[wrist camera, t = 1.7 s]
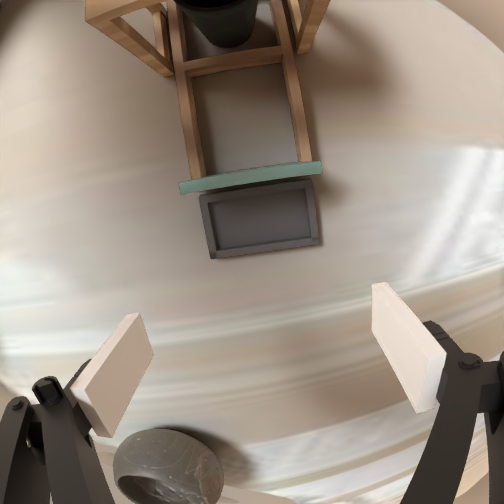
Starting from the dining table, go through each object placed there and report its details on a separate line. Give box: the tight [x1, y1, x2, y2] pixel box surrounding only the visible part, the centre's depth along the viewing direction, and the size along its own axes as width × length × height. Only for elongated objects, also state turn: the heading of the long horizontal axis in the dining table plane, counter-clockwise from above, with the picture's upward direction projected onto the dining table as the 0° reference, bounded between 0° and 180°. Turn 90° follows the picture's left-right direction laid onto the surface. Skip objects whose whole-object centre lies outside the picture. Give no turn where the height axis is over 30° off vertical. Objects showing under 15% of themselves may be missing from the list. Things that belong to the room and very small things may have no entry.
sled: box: [166, 0, 322, 195], centre depth 26 cm, size 24×12×8 cm, turn 9°
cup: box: [173, 0, 258, 48], centre depth 23 cm, size 8×8×12 cm
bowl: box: [113, 429, 224, 504], centre depth 41 cm, size 18×18×13 cm
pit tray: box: [199, 179, 319, 259], centre depth 34 cm, size 7×12×2 cm, turn 99°
